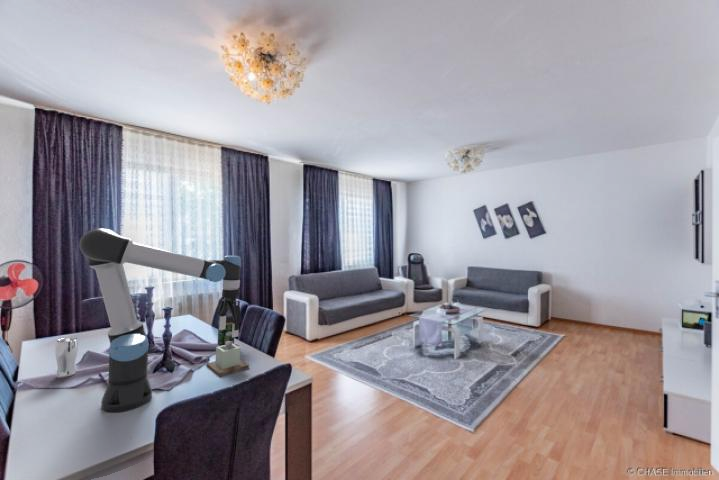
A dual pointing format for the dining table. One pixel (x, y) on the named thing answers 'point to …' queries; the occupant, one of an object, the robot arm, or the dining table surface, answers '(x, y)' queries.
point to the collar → (227, 356)
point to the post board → (221, 372)
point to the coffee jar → (225, 331)
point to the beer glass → (66, 356)
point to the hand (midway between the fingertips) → (228, 333)
